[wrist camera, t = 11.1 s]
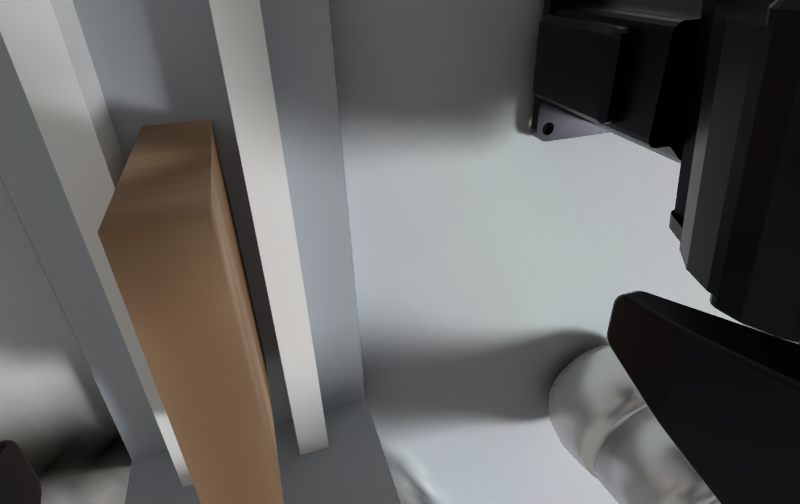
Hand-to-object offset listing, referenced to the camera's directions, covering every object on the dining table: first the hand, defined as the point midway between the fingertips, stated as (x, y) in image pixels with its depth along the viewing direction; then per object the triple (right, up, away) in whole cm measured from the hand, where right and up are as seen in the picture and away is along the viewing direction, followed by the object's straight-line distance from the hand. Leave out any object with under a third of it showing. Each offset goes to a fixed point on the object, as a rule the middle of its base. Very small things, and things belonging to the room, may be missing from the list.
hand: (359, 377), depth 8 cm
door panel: (-6, +2, +10) cm, 12 cm away
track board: (-6, +2, +11) cm, 13 cm away
